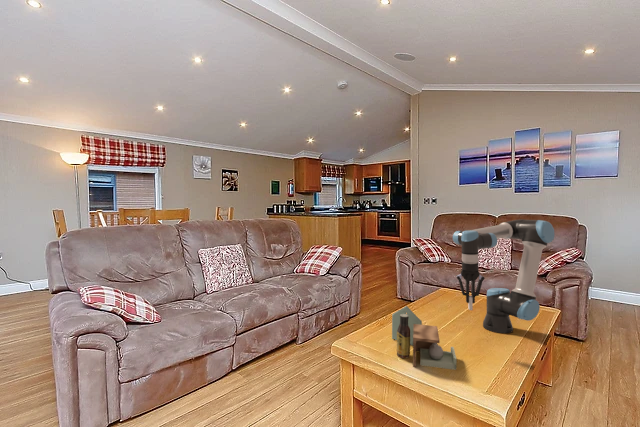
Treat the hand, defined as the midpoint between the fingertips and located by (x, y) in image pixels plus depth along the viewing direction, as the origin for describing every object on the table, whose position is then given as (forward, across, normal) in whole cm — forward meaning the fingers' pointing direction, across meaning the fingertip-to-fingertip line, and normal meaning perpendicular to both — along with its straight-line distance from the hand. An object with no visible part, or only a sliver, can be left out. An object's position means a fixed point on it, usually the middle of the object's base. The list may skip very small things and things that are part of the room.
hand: (470, 309), depth 164 cm
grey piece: (+20, +30, -2) cm, 35 cm away
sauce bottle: (+19, +32, +16) cm, 41 cm away
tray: (+19, +17, +18) cm, 31 cm away
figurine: (+19, +18, +17) cm, 31 cm away
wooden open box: (+19, +22, +18) cm, 34 cm away
